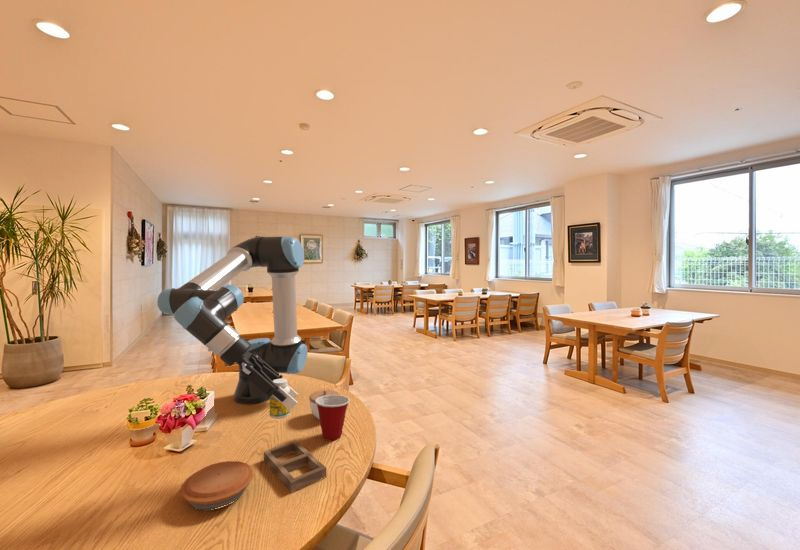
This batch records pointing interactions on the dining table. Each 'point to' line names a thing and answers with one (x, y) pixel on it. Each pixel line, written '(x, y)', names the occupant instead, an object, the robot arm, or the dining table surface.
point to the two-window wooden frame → (294, 465)
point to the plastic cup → (332, 415)
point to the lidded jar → (315, 395)
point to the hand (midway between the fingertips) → (294, 401)
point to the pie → (217, 484)
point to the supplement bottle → (275, 406)
